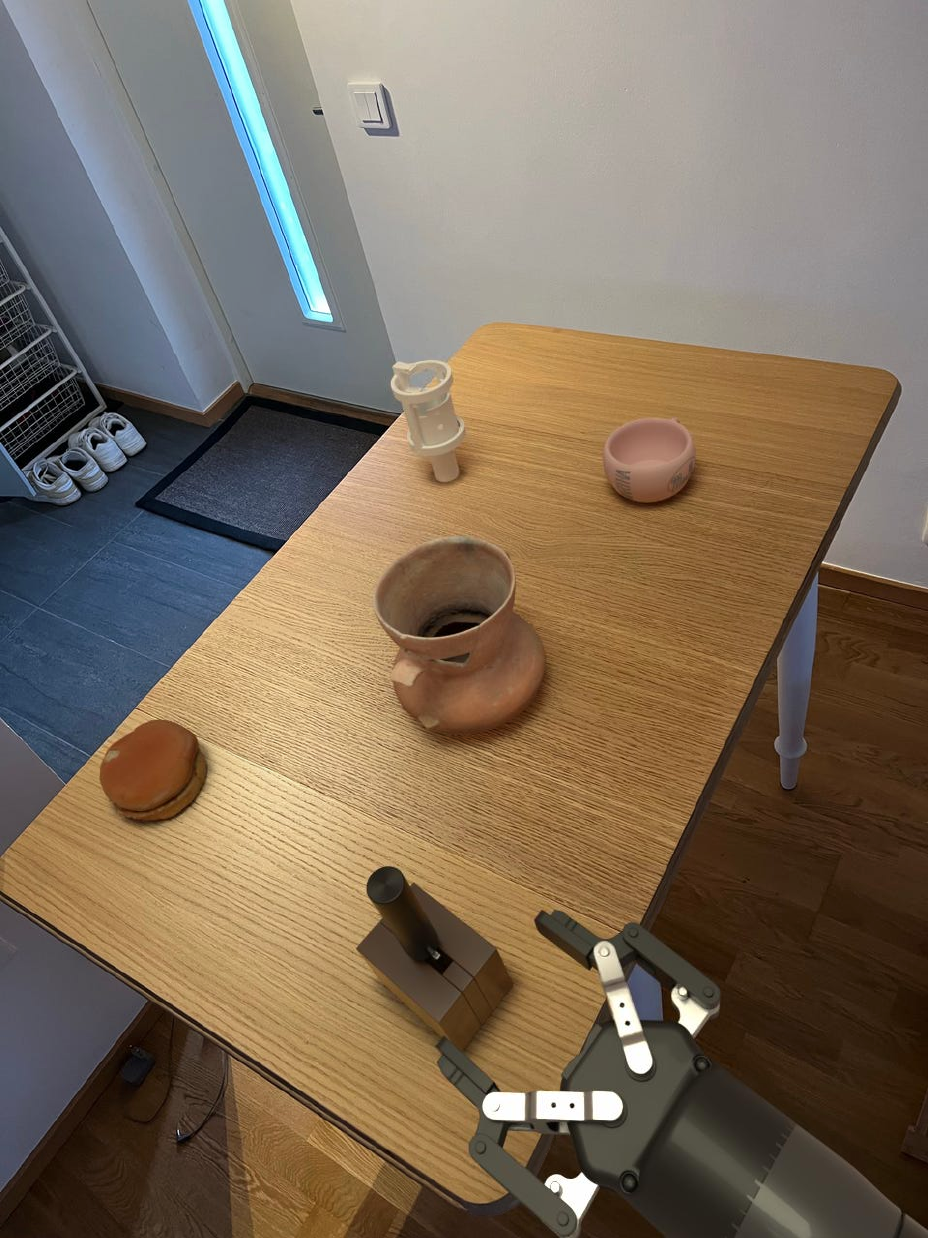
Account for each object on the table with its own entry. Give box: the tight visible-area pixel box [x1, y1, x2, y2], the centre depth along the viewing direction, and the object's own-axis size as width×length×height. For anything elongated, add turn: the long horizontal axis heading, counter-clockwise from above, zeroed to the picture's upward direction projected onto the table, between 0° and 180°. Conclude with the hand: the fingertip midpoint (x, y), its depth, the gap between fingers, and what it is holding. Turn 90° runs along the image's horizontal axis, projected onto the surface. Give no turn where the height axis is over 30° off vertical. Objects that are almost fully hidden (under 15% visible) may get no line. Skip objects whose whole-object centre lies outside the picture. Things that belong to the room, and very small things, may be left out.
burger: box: [99, 719, 208, 822], centre depth 79 cm, size 10×9×5 cm
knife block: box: [355, 882, 514, 1053], centre depth 59 cm, size 6×8×7 cm
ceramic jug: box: [372, 535, 547, 736], centre depth 75 cm, size 18×14×14 cm
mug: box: [602, 417, 697, 503], centre depth 93 cm, size 12×10×6 cm
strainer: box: [390, 359, 467, 483], centre depth 98 cm, size 7×7×15 cm
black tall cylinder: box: [365, 865, 448, 975], centre depth 56 cm, size 2×3×17 cm
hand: (491, 980), depth 47 cm, fingers open, 8 cm apart
